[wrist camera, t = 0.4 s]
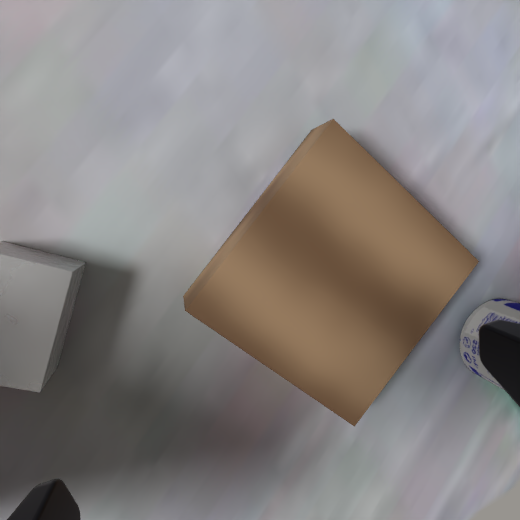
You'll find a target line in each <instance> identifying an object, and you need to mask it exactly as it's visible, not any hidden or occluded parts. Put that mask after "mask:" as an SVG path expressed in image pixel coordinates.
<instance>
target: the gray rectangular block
mask: <svg viewBox="0 0 520 520" xmlns="http://www.w3.org/2000/svg"><path fill="white" fill-rule="evenodd" d="M85 264H86V262H83V261H79V260H75V259H71V258H67V257H63V256H59V255H55V254H51V253H47V252H44V251H40V250H36V249H32V248H28V247H24V246H20V245H16V244H12V243H8V242H4V241H1V242H0V386H4V387H10V388H16V389H22V390H28V391H34V392H41V390H42V389H43V387H44V386H45V384H46V383H47V382H48V380H49V379H50V377H51V376H52V374H53V373H54V372H55V370H56V369H57V367H58V363H59V359H60V356H61V352H62V348H63V345H64V341H65V337H66V334H67V330H68V327H69V323H70V319H71V316H72V312H73V308H74V305H75V301H76V297H77V294H78V290H79V286H80V283H81V279H82V275H83V272H84V268H85Z"/></svg>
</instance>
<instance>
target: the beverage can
mask: <svg viewBox="0 0 520 520" xmlns="http://www.w3.org/2000/svg"><path fill="white" fill-rule="evenodd" d="M494 320H504V321H509V322H514V323H519V324H520V303H516V302H513V301H510V300H506V299H494V300H490V301H488V302H486V303H484V304H482V305H480V306H479V307H478V308H477V309H476V310H474V311H473V313H472V314H471V315H470V316H469V317H468V319H467V320H466V322H465V324H464V326H463V329H462V332H461V336H460V353H461V357H462V359H463V362H464V363H465V365H466V366H467V367H468V369H469V370H470V371H472V372H473V373H475V374H477V375H479V376H481V377H482V378H484V379H486V380H488V381H489V382H491V383H493V384H495V385H497V386H498V387H500V388H502V389H503V387H502V386H501V385H500V384H499V383H498V382H497V381H496V380H495V378H494V377H493V376H492V375H491V374H490V373H489V372H488V371H487V369H486V368H485V367H484V366H483V364H482V362H481V360H480V356H479V329H480V327H481V326H482V325H483V324H486V323H489V322H492V321H494Z"/></svg>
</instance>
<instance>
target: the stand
mask: <svg viewBox="0 0 520 520" xmlns="http://www.w3.org/2000/svg"><path fill="white" fill-rule="evenodd" d="M478 262H479V261H478V260H477V259H476V258H475V257H474V256H473V255H472V254H471V253H470V252H469V251H468V250H467V249H466V248H465V247H464V246H463V245H462V244H461V243H460V242H459V241H458V240H457V239H456V238H454V237H453V236H452V235H451V234H450V233H449V232H448V231H447V230H446V229H445V228H444V227H443V226H442V225H441V224H440V223H439V222H438V221H437V220H436V219H435V218H434V217H433V216H432V215H431V214H430V213H429V212H428V211H427V210H426V209H425V208H424V207H423V206H422V205H421V204H420V203H419V202H418V201H417V200H416V199H415V198H414V197H413V196H412V195H411V194H410V193H409V192H408V191H406V190H405V189H404V188H403V187H402V186H401V185H400V184H399V183H398V182H397V181H396V180H395V179H394V178H393V177H392V176H391V175H390V174H389V173H388V172H387V171H386V170H385V169H384V168H383V167H382V166H381V165H380V164H379V163H378V162H377V161H376V160H375V159H374V158H373V157H372V156H371V155H370V154H369V153H368V152H367V151H366V150H365V149H364V148H363V147H362V146H361V145H360V144H358V143H357V142H356V141H355V140H354V139H353V138H352V137H351V136H350V135H349V134H348V133H347V132H346V131H345V130H344V129H343V128H342V127H341V126H340V125H339V124H338V123H337V122H336V121H335V120H334V119H332V120H330V121H328V122H326V123H324V124H322V125H320V126H318V127H317V128H315V129H313V130H311V132H310V133H309V134H308V135H307V137H306V138H305V139H304V141H303V142H302V143H301V144H300V146H299V147H298V148H297V150H296V151H295V152H294V154H293V155H292V156H291V157H290V159H289V160H288V161H287V163H286V164H285V165H284V166H283V168H282V169H281V170H280V172H279V173H278V174H277V176H276V177H275V178H274V179H273V181H272V182H271V183H270V185H269V186H268V187H267V188H266V190H265V191H264V192H263V194H262V195H261V196H260V198H259V199H258V200H257V201H256V203H255V204H254V205H253V207H252V208H251V209H250V210H249V212H248V213H247V214H246V216H245V217H244V218H243V220H242V221H241V222H240V223H239V225H238V226H237V227H236V229H235V230H234V231H233V232H232V234H231V235H230V236H229V238H228V239H227V240H226V242H225V243H224V244H223V245H222V247H221V248H220V249H219V251H218V252H217V253H216V254H215V256H214V257H213V258H212V260H211V261H210V262H209V264H208V265H207V266H206V267H205V269H204V270H203V271H202V273H201V274H200V275H199V276H198V278H197V279H196V280H195V282H194V283H193V284H192V285H191V287H190V288H189V289H188V291H187V292H186V293H185V295H184V296H183V297H184V305H185V311H186V312H188V313H189V314H191V315H192V316H194V317H195V318H197V319H198V320H200V321H201V322H202V323H204V324H205V325H207V326H208V327H210V328H211V329H213V330H214V331H216V332H217V333H219V334H220V335H221V336H223V337H224V338H226V339H227V340H229V341H230V342H232V343H233V344H235V345H236V346H238V347H239V348H241V349H242V350H243V351H245V352H246V353H248V354H249V355H251V356H252V357H254V358H255V359H257V360H258V361H260V362H261V363H262V364H264V365H265V366H267V367H268V368H270V369H271V370H273V371H274V372H276V373H277V374H279V375H280V376H281V377H283V378H284V379H286V380H287V381H289V382H290V383H292V384H293V385H295V386H296V387H298V388H299V389H301V390H302V391H303V392H305V393H306V394H308V395H309V396H311V397H312V398H314V399H315V400H317V401H318V402H320V403H321V404H322V405H324V406H325V407H327V408H328V409H330V410H331V411H333V412H334V413H336V414H337V415H339V416H340V417H341V418H343V419H344V420H346V421H347V422H349V423H350V424H352V425H353V426H355V425H356V424H357V422H358V421H359V420H360V418H361V417H362V416H363V414H364V413H365V412H366V410H367V409H368V408H369V406H370V405H371V404H372V402H373V401H374V400H375V398H376V397H377V396H378V395H379V393H380V392H381V391H382V389H383V388H384V387H385V385H386V384H387V383H388V381H389V380H390V379H391V377H392V376H393V375H394V373H395V372H396V371H397V369H398V368H399V367H400V365H401V364H402V363H403V361H404V360H405V359H406V357H407V356H408V355H409V353H410V352H411V351H412V349H413V348H414V347H415V345H416V344H417V343H418V342H419V340H420V339H421V338H422V336H423V335H424V334H425V332H426V331H427V330H428V328H429V327H430V326H431V324H432V323H433V322H434V320H435V319H436V318H437V316H438V315H439V314H440V312H441V311H442V310H443V308H444V307H445V306H446V304H447V303H448V302H449V300H450V299H451V298H452V296H453V295H454V294H455V292H456V291H457V290H458V289H459V287H460V286H461V285H462V283H463V282H464V281H465V279H466V278H467V277H468V275H469V274H470V273H471V271H472V270H473V269H474V267H475V266H476V265H477V263H478Z"/></svg>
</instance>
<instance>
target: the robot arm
mask: <svg viewBox="0 0 520 520" xmlns="http://www.w3.org/2000/svg"><path fill="white" fill-rule="evenodd" d="M479 356H480V360H481V362H482V364H483V366H484V367H485V368H486V369H487V371H488V372H489V373H490V374H491V375H492V376H493V377H494V378H495V380H496V381H497V382H498V383H499V384H500V385H501V386H502V387H503V389H504V390H505V391H506V392H507V393H508V394H509V395H510V396H511V398H512V399H513V400H514V401H515V402H516V403H517V404H518V405H519V407H520V324H519V323H514V322H509V321H504V320H494V321H492V322H489V323H486V324H483V325H482V326H481V327H480V329H479ZM7 520H80V511H79V507H78V505H77V503H76V502H75V500H74V498H73V497H72V495H71V494H70V492H69V490H68V489H67V487H66V485H65V484H64V482H63V481H62V480H60V479H53V480H50V481H48V482H45V483H42V484H39V485H38V486H36V487H34V488H33V490H32V491H31V492H30V493H29V494H28V495H27V497H26V498H25V499H24V500H23V501H22V503H21V504H20V505H19V506H18V507H17V508H16V510H15V511H14V512H13V513H12V514H11V516H10V517H9V518H8V519H7Z"/></svg>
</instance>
